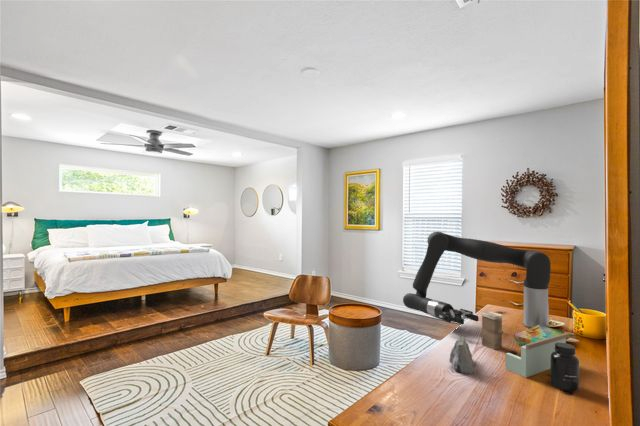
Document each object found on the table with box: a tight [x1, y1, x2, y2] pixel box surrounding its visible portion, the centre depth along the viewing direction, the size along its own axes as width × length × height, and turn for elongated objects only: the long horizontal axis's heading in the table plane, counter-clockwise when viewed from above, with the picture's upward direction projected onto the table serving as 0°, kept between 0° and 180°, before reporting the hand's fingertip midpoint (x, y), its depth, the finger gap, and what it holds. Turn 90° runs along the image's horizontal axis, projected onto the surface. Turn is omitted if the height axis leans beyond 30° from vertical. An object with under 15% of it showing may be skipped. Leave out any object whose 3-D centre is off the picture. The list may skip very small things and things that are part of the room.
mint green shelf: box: [505, 332, 569, 378], centre depth 112 cm, size 22×9×10 cm, turn 117°
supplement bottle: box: [549, 342, 580, 393], centre depth 98 cm, size 7×7×12 cm
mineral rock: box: [449, 335, 475, 375], centre depth 112 cm, size 13×11×10 cm
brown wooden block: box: [481, 311, 503, 350], centre depth 128 cm, size 5×5×12 cm
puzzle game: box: [513, 325, 572, 346], centre depth 131 cm, size 12×5×20 cm
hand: (470, 320), depth 136 cm, fingers open, 8 cm apart
